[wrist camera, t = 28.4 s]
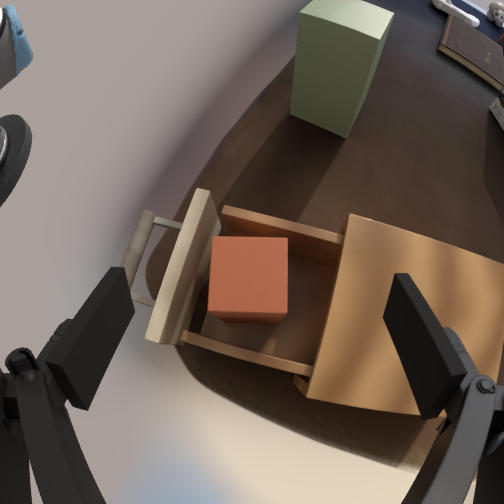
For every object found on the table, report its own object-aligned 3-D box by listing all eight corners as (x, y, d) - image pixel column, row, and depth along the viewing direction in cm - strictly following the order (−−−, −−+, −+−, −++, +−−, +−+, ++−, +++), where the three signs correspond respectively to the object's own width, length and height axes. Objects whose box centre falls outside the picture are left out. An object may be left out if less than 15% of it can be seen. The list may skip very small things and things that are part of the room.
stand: (346, 139, 37) (379, 39, 21) (289, 114, 38) (299, 11, 23) (363, 102, 39) (394, 13, 23) (312, 81, 40) (326, -11, 25)
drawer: (126, 324, 30) (88, 315, 22) (166, 212, 33) (142, 176, 26) (328, 384, 28) (350, 396, 20) (356, 262, 31) (384, 235, 23)
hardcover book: (498, 52, 46) (502, 47, 44) (500, 93, 41) (505, 86, 39) (446, 19, 49) (449, 12, 47) (436, 50, 44) (440, 42, 42)
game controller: (481, 18, 47) (481, 21, 43) (476, 29, 51) (475, 33, 47) (436, -9, 50) (431, -9, 46) (432, 2, 54) (426, 3, 50)
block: (224, 322, 29) (207, 311, 19) (226, 270, 30) (212, 235, 21) (278, 324, 28) (287, 313, 19) (279, 271, 30) (287, 237, 21)
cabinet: (291, 382, 29) (305, 397, 19) (325, 251, 32) (349, 213, 23) (434, 406, 27) (487, 418, 18) (456, 287, 31) (509, 266, 21)
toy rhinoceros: (483, 21, 52) (492, 2, 44) (485, 13, 55) (493, -4, 46) (502, 35, 51) (512, 16, 42) (502, 25, 53) (511, 9, 45)
